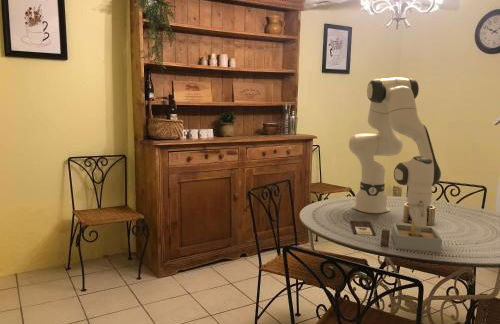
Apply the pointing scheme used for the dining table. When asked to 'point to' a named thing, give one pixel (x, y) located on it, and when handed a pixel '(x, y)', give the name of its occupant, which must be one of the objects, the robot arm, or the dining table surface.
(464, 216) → the dining table surface
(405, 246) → the square frame
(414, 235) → the dowel
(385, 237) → the short dark dowel
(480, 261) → the dining table surface
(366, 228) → the chocolate bar
